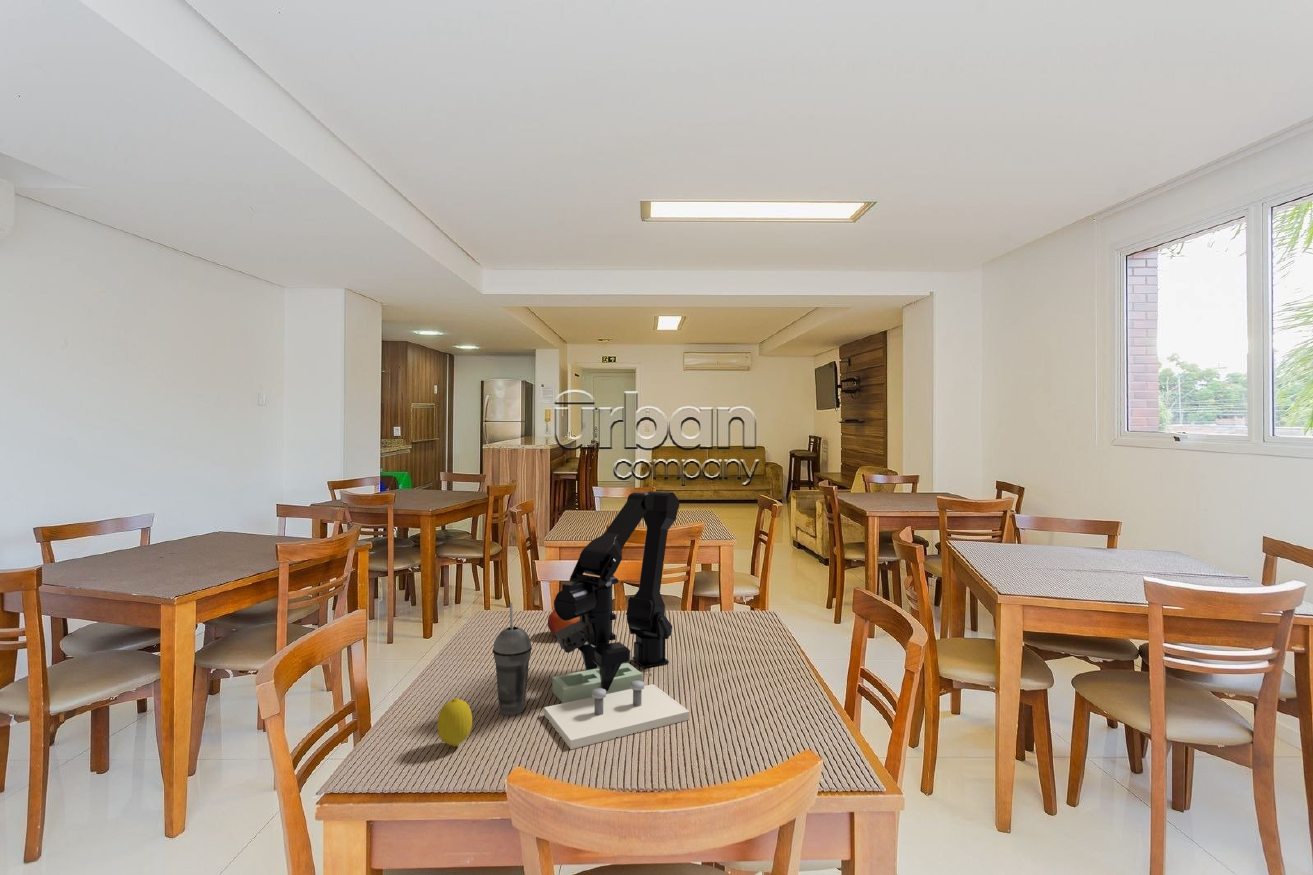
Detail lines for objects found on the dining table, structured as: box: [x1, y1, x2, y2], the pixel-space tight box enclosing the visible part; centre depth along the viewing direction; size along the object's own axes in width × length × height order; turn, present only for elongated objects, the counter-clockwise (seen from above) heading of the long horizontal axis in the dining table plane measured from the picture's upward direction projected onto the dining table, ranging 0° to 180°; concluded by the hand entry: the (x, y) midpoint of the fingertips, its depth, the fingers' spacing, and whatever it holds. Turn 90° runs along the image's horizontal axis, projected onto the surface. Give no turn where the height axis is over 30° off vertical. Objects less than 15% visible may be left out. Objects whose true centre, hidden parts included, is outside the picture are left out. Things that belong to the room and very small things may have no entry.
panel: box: [551, 662, 644, 704], centre depth 123 cm, size 17×7×3 cm, turn 119°
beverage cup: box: [492, 602, 533, 716], centre depth 114 cm, size 7×7×20 cm
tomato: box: [547, 608, 580, 638], centre depth 158 cm, size 9×9×8 cm
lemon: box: [436, 697, 473, 748], centre depth 100 cm, size 6×6×8 cm
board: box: [543, 680, 690, 750], centre depth 111 cm, size 23×14×6 cm, turn 119°
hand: (597, 684), depth 123 cm, fingers closed on panel, 7 cm apart
